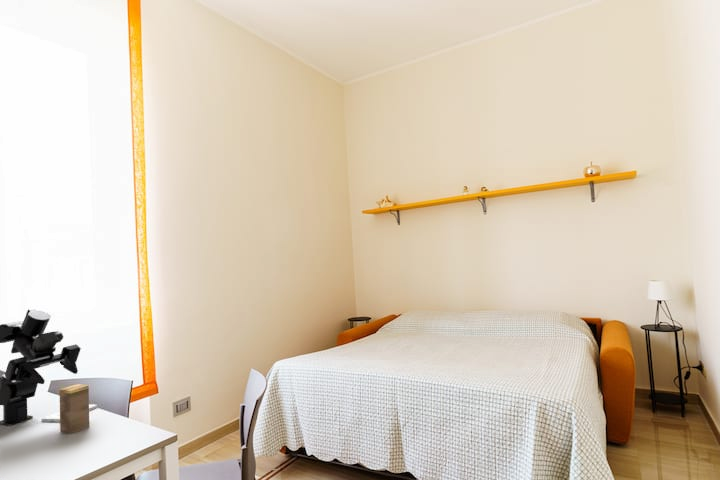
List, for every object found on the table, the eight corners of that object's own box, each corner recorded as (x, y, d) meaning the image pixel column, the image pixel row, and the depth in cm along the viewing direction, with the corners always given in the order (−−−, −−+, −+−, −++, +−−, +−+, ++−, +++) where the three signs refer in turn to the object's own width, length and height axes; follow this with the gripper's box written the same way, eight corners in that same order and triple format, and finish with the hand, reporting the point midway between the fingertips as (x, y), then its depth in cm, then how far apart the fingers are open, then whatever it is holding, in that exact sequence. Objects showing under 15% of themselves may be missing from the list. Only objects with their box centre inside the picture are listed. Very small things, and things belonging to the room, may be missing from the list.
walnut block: (60, 432, 118) (59, 389, 118) (78, 425, 122) (77, 384, 123) (71, 434, 116) (70, 390, 117) (89, 427, 121) (88, 385, 121)
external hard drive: (97, 409, 138) (63, 424, 126) (76, 408, 139) (41, 423, 127) (97, 404, 138) (63, 418, 126) (76, 403, 139) (41, 418, 127)
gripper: (2, 332, 118) (32, 363, 112) (70, 320, 135) (99, 346, 129) (-7, 365, 120) (21, 397, 114) (61, 348, 137) (89, 375, 132)
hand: (60, 377), depth 122 cm, fingers open, 9 cm apart
